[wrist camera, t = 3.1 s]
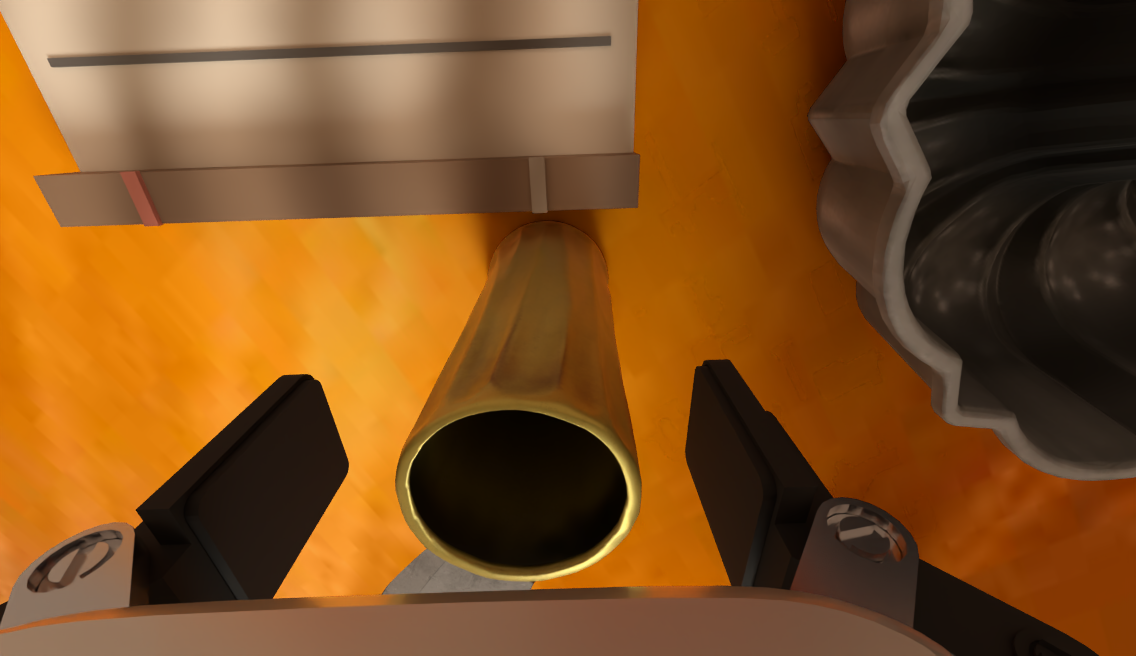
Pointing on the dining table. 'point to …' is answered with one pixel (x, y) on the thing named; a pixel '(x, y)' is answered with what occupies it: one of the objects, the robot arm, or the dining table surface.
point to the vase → (527, 421)
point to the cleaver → (445, 578)
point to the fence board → (333, 106)
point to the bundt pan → (995, 213)
